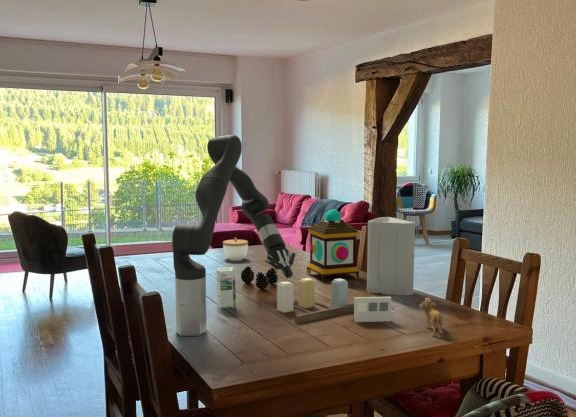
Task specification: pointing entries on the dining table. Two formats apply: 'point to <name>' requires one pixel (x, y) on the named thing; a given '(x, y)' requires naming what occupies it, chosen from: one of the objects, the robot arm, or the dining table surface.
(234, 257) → the lidded bowl
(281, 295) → the ivory key
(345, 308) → the wooden slatted rack
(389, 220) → the white paneled column
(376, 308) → the tile
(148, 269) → the dining table surface
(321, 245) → the decorative lantern
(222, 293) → the syrup box
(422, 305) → the lion figurine
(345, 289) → the grey rounded cylinder
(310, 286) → the ochre key
